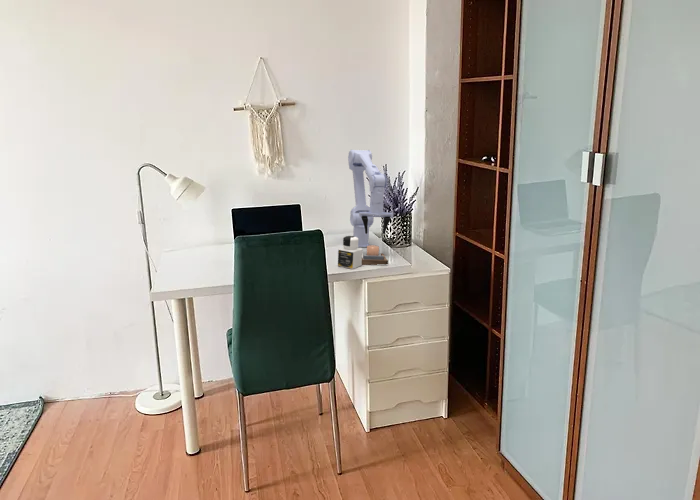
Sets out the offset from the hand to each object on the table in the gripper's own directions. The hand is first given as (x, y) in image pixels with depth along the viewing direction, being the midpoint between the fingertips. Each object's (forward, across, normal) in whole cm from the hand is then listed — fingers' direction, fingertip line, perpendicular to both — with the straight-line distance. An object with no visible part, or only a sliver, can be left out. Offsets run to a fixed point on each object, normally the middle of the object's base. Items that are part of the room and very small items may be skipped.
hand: (375, 233), depth 254 cm
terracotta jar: (+10, -2, -10) cm, 14 cm away
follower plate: (+9, -2, -13) cm, 16 cm away
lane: (+9, -2, -10) cm, 14 cm away
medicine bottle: (+10, -12, -20) cm, 25 cm away
